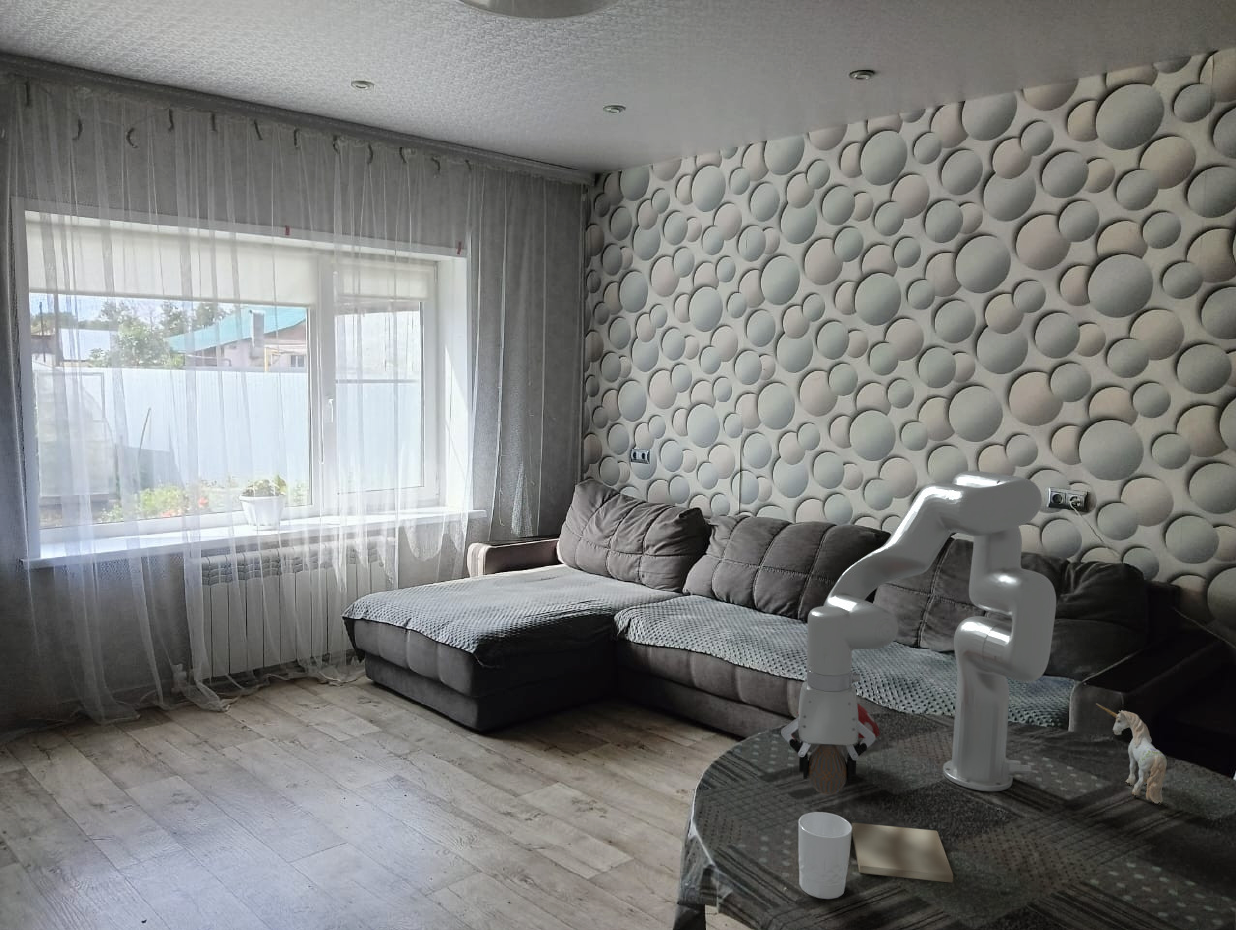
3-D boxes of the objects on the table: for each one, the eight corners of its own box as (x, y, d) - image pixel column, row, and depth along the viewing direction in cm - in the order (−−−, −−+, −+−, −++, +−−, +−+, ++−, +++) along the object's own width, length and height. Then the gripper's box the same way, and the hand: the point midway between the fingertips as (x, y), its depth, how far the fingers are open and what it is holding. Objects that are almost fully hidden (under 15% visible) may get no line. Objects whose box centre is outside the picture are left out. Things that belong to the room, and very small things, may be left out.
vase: (847, 800, 158) (848, 751, 157) (806, 796, 160) (807, 748, 159) (846, 781, 165) (847, 734, 164) (806, 778, 167) (807, 731, 165)
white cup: (789, 873, 144) (792, 812, 143) (838, 872, 145) (842, 811, 144) (803, 902, 137) (807, 838, 136) (856, 901, 137) (859, 837, 136)
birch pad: (936, 837, 157) (937, 830, 156) (952, 882, 143) (953, 875, 143) (851, 829, 159) (851, 822, 159) (859, 872, 145) (859, 865, 145)
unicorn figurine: (1124, 767, 187) (1130, 703, 185) (1189, 813, 168) (1196, 742, 166) (1090, 767, 186) (1095, 703, 185) (1151, 814, 167) (1158, 742, 166)
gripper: (878, 673, 162) (875, 770, 165) (777, 669, 165) (776, 764, 167) (883, 689, 155) (880, 790, 157) (778, 684, 158) (776, 783, 160)
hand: (827, 776), depth 162 cm, fingers closed on vase, 7 cm apart
